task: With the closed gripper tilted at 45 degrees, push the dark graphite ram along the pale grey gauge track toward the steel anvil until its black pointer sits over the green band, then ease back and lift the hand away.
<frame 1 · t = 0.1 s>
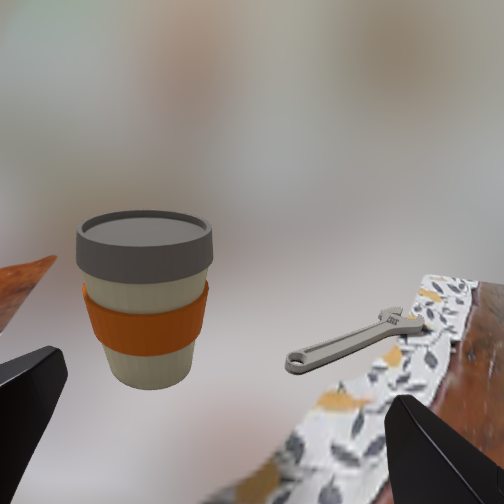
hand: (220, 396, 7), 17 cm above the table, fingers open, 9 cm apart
reusable coffee cup: (150, 363, 32), on the table
adjustable wrench: (360, 340, 40), on the table
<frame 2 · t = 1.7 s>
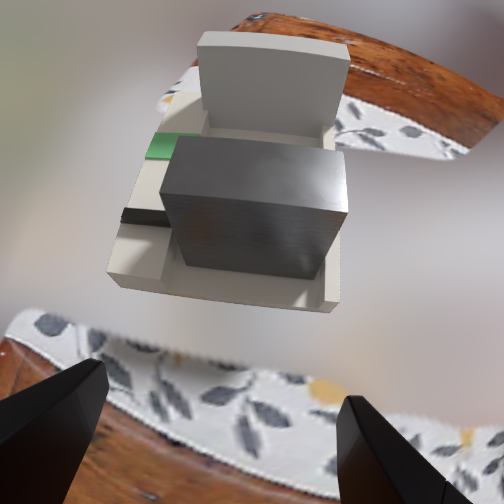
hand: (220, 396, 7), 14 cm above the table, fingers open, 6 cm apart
gauge track: (252, 253, 24), on the table
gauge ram: (217, 211, 19), point 5 cm above the table, slide at 0.0 cm
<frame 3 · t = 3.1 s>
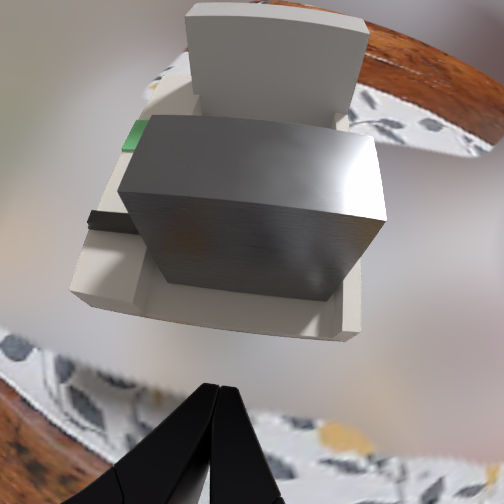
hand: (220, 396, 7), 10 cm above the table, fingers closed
gauge track: (250, 267, 19), on the table
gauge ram: (204, 215, 15), point 5 cm above the table, slide at 0.0 cm
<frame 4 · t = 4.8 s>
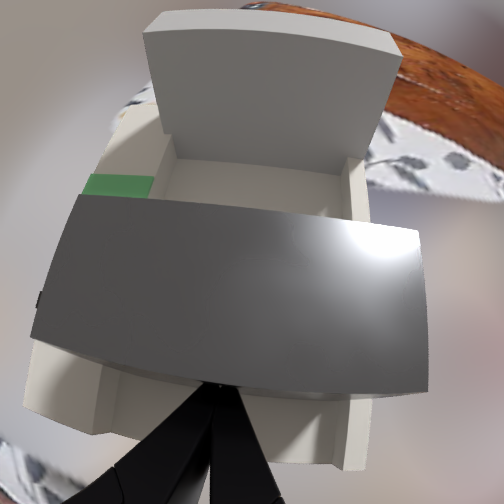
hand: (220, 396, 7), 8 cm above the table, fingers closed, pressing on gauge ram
gauge track: (234, 377, 15), on the table
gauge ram: (170, 321, 11), point 5 cm above the table, slide at 1.2 cm, touching gripper
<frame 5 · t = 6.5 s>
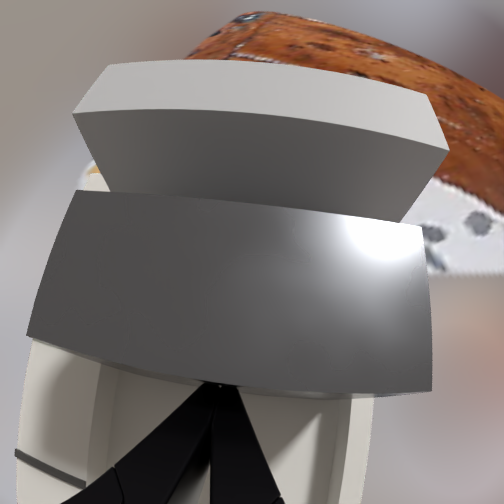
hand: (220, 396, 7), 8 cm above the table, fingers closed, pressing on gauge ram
gauge track: (218, 498, 12), on the table
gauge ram: (169, 319, 10), point 5 cm above the table, slide at 7.7 cm, touching gripper
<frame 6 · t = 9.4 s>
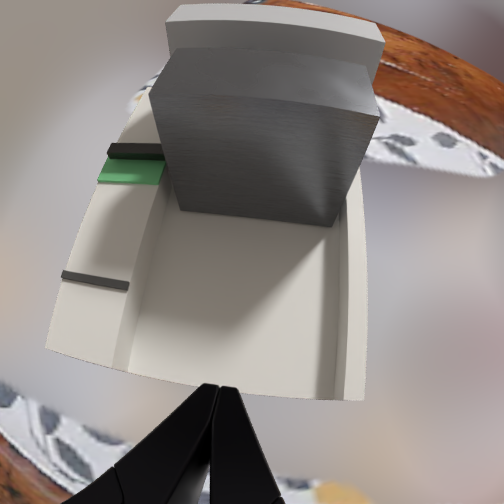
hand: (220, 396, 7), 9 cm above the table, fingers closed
gauge track: (243, 318, 17), on the table
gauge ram: (218, 137, 16), point 5 cm above the table, slide at 7.7 cm
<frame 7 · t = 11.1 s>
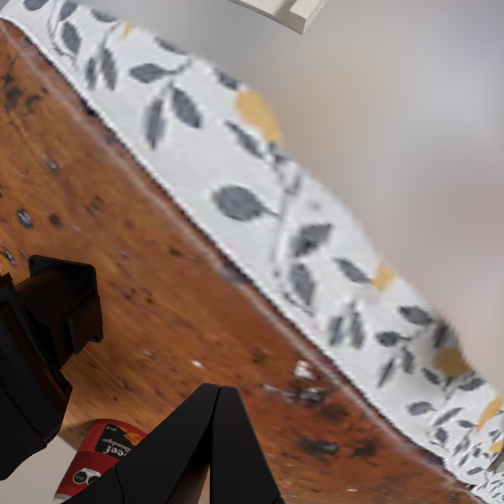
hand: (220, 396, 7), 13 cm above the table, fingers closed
canned food: (125, 439, 27), on the table
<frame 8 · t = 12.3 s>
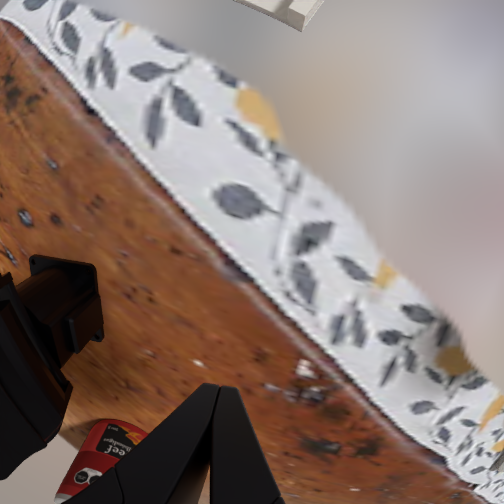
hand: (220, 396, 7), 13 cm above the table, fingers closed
canned food: (127, 439, 27), on the table
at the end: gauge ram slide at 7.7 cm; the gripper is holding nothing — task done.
